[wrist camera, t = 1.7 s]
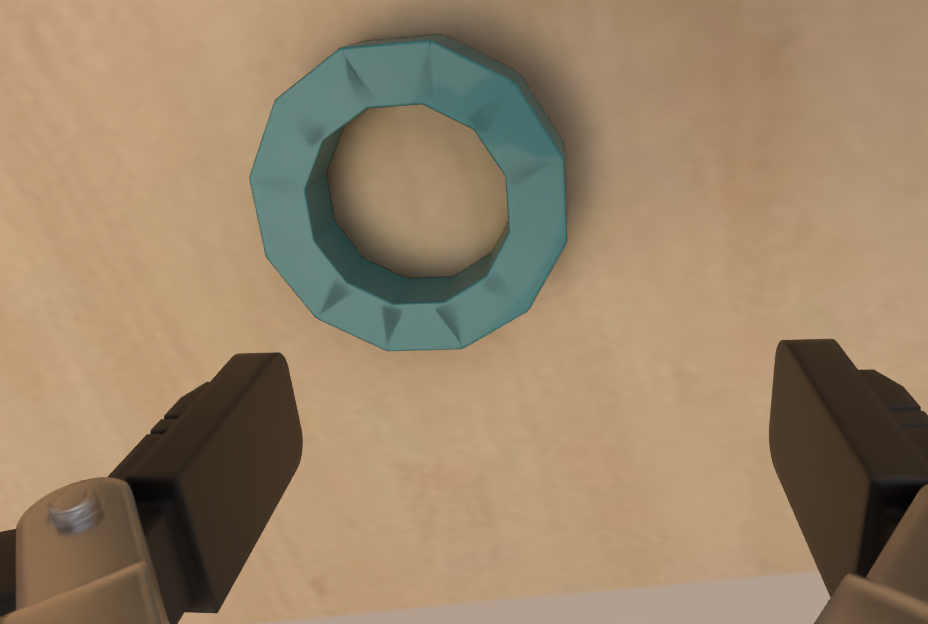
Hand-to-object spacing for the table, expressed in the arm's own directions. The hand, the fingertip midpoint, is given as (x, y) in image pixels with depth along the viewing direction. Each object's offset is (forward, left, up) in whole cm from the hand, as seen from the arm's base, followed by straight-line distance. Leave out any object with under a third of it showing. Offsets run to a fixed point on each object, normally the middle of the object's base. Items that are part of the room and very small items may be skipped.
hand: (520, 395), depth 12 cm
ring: (-4, 0, -14) cm, 15 cm away
